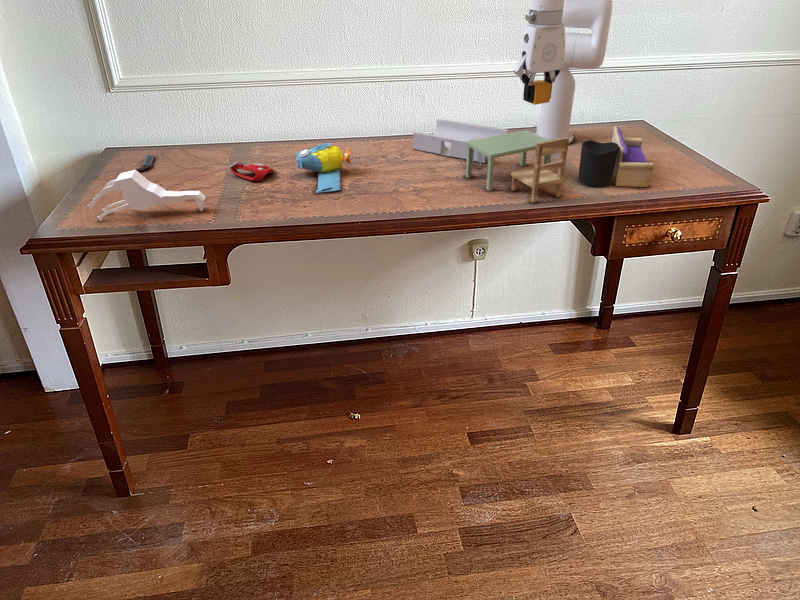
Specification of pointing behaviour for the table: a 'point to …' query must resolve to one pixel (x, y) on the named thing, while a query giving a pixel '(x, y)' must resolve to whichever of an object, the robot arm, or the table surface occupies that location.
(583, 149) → the pen holder
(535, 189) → the chair
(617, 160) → the toy sofa
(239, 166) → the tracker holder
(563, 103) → the robot arm
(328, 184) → the blue yellow toy fish
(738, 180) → the table surface
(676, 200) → the table surface
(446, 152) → the grey storage tray
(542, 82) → the block
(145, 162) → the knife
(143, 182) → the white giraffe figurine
